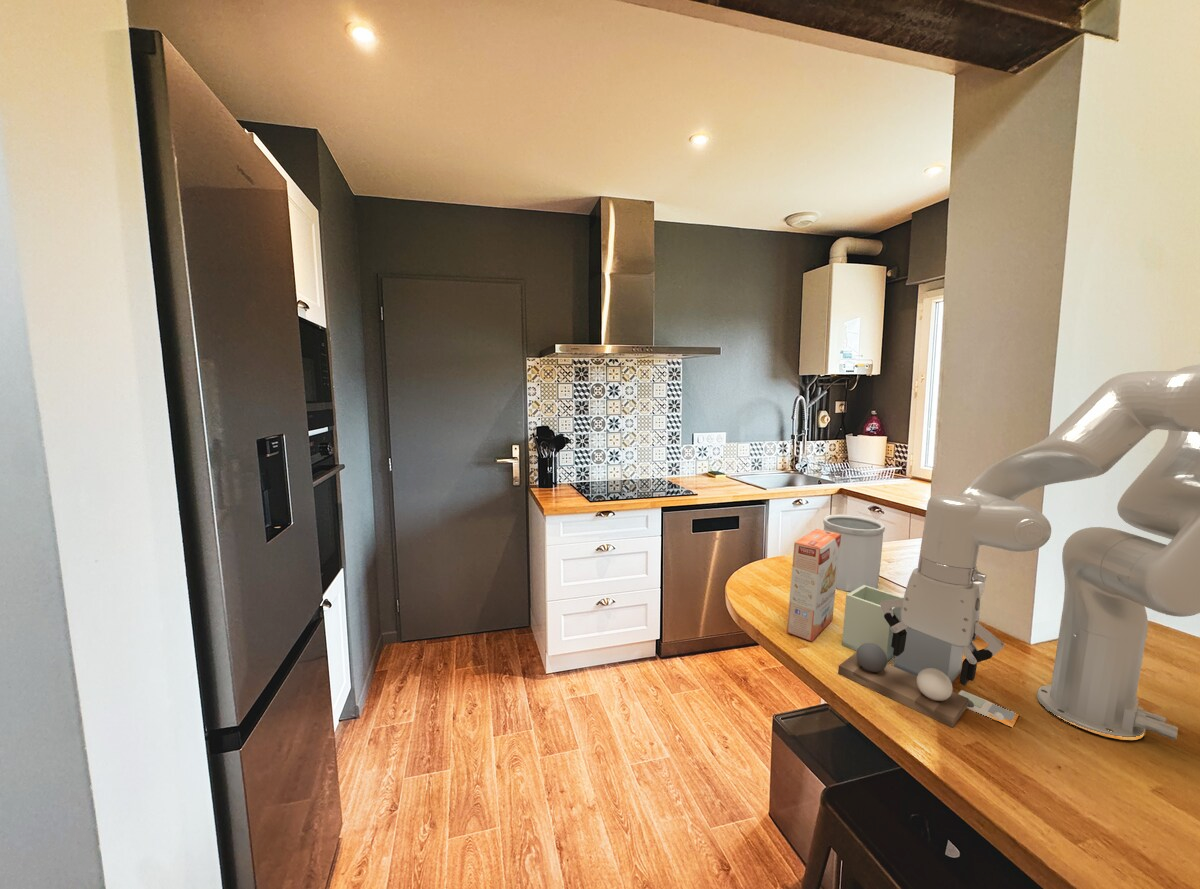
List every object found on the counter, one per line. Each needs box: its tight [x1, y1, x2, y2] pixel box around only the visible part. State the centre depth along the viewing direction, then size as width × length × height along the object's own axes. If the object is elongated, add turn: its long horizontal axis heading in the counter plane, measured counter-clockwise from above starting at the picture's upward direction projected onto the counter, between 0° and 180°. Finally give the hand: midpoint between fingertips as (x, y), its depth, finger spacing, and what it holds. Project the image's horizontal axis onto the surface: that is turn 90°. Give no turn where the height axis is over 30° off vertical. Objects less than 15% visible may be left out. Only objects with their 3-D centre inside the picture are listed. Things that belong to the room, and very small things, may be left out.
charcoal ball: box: [855, 643, 888, 672], centre depth 89 cm, size 5×5×5 cm
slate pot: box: [894, 620, 964, 684], centre depth 91 cm, size 8×8×11 cm
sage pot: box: [841, 585, 904, 663], centre depth 98 cm, size 8×8×11 cm
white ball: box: [917, 668, 954, 701], centre depth 81 cm, size 5×5×5 cm
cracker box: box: [786, 528, 841, 643], centre depth 106 cm, size 14×6×21 cm, turn 137°
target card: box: [958, 689, 1017, 721], centre depth 80 cm, size 8×5×1 cm, turn 39°
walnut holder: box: [837, 652, 969, 728], centre depth 85 cm, size 18×8×2 cm, turn 39°
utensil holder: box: [822, 514, 886, 593], centre depth 130 cm, size 15×15×18 cm
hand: (929, 667), depth 81 cm, fingers open, 9 cm apart
